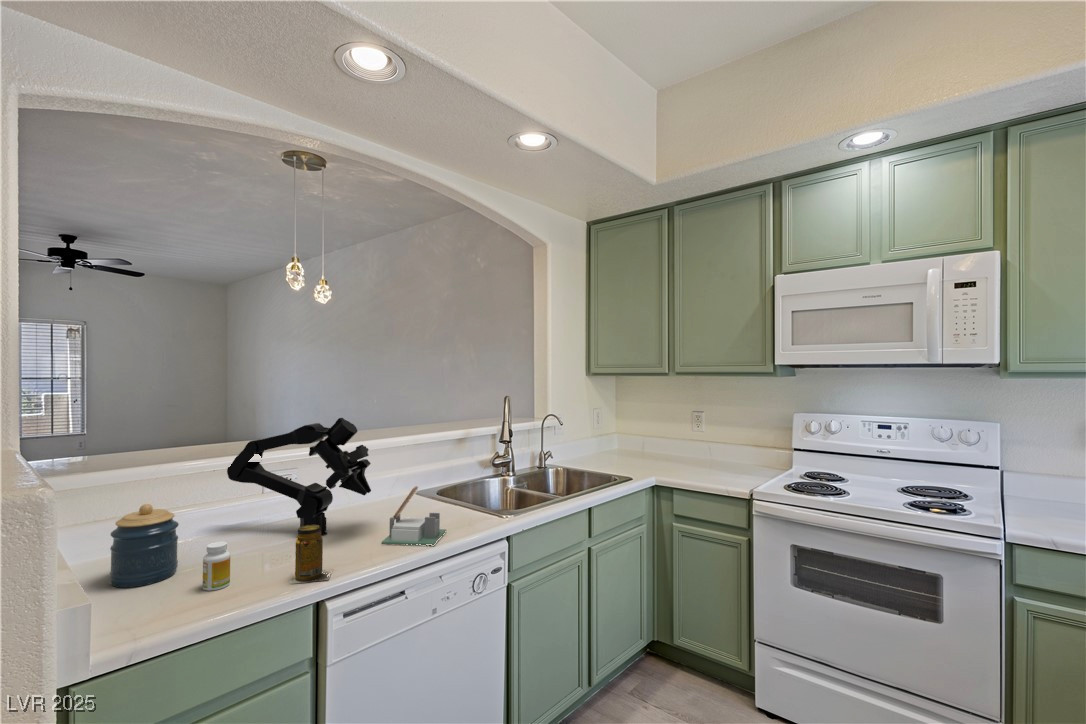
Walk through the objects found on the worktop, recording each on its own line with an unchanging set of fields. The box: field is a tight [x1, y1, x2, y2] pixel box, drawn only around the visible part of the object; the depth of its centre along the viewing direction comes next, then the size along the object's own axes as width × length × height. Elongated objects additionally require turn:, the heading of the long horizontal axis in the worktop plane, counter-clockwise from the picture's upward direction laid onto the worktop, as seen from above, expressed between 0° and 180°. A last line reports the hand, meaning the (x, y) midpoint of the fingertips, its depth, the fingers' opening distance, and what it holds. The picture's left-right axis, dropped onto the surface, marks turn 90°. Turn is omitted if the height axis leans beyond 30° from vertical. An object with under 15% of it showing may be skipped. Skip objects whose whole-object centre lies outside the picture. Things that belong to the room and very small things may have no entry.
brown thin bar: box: [392, 485, 419, 521], centre depth 152 cm, size 1×3×12 cm
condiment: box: [289, 525, 334, 585], centre depth 123 cm, size 7×8×12 cm
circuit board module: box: [381, 512, 447, 546], centre depth 151 cm, size 16×13×7 cm
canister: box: [109, 503, 180, 588], centre depth 122 cm, size 13×13×18 cm
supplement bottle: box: [202, 541, 231, 592], centre depth 117 cm, size 5×5×10 cm
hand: (367, 493), depth 153 cm, fingers open, 3 cm apart
